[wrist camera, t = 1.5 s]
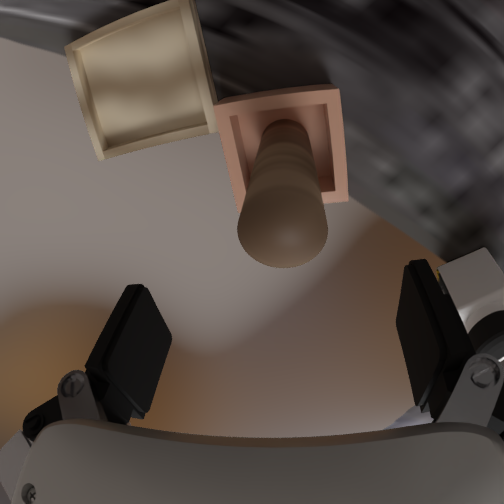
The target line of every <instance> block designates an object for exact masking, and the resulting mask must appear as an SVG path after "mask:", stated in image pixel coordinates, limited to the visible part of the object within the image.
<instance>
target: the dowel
mask: <svg viewBox="0 0 504 504" xmlns="http://www.w3.org/2000/svg"><path fill="white" fill-rule="evenodd" d="M237 230H238V231H237V232H238V237H239V240H240V243H241V245H242V247H243V248H244V250H245V251H246V252H247V253H248V254H249V255H250V256H251V257H252V258H254V259H255V260H256V261H258V262H260V263H262V264H265V265H267V266H271V267H276V268H290V267H296V266H299V265H302V264H305V263H307V262H309V261H310V260H312V259H313V258H314V257H316V255H318V254H319V252H320V251H321V250H322V248H323V247H324V244H325V243H326V239H327V235H328V227H327V220H326V215H325V210H324V204H323V199H322V194H321V189H320V185H319V180H318V175H317V171H316V166H315V161H314V157H313V153H312V148H311V144H310V140H309V136H308V133H307V131H306V130H305V128H304V127H303V126H302V125H301V124H299V123H298V122H296V121H293V120H290V119H280V120H276V121H274V122H272V123H271V124H269V125H268V126H267V127H266V129H265V130H264V132H263V134H262V138H261V141H260V145H259V148H258V152H257V155H256V159H255V162H254V166H253V170H252V173H251V177H250V180H249V184H248V188H247V191H246V195H245V199H244V202H243V206H242V210H241V213H240V217H239V221H238V227H237Z"/></svg>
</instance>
